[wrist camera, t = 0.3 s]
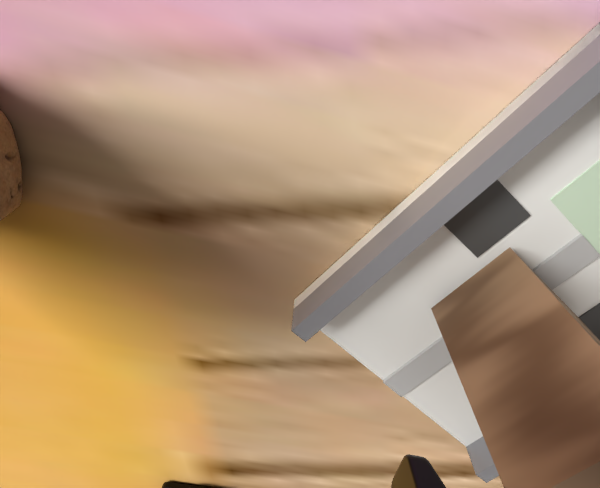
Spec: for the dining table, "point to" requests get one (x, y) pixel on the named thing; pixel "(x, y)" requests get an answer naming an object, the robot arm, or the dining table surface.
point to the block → (9, 169)
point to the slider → (526, 375)
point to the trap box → (474, 242)
